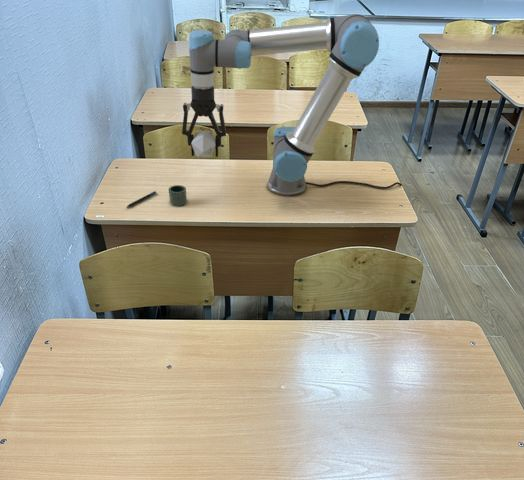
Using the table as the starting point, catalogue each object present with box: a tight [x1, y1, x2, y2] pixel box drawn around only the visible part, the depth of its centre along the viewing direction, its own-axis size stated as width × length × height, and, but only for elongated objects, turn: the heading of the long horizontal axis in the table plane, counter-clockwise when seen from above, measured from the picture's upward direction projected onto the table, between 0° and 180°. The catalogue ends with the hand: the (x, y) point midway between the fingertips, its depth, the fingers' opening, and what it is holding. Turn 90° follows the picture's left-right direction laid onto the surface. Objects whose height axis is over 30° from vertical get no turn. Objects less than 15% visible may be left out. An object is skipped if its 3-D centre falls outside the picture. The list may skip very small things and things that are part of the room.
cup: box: [168, 184, 188, 207], centre depth 191 cm, size 6×6×6 cm
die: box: [191, 130, 216, 158], centre depth 180 cm, size 8×9×10 cm
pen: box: [126, 190, 157, 208], centre depth 192 cm, size 1×16×1 cm, turn 145°
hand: (204, 154), depth 182 cm, fingers closed on die, 8 cm apart
